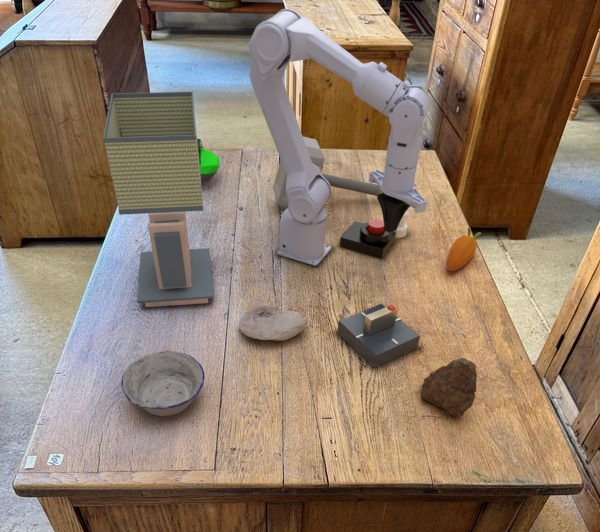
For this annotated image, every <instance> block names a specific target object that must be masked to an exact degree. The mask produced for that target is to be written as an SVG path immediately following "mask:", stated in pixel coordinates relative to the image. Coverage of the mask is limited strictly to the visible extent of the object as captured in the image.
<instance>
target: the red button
mask: <svg viewBox="0 0 600 532" xmlns="http://www.w3.org/2000/svg"><path fill="white" fill-rule="evenodd" d="M368 222H369V223H368V232H369V233H372V234H382V233H384V221H383V219H382V220H381V219H377V218H376V219H375V218H374V219H371V220H369V221H368Z"/></svg>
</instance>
